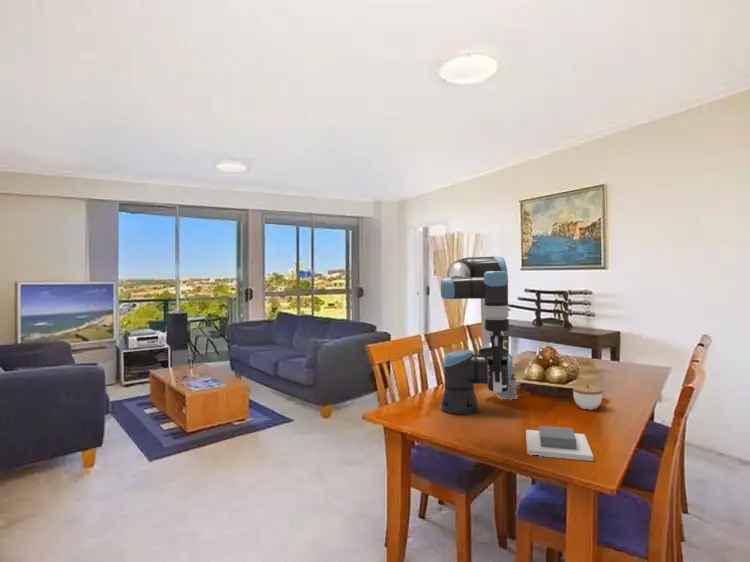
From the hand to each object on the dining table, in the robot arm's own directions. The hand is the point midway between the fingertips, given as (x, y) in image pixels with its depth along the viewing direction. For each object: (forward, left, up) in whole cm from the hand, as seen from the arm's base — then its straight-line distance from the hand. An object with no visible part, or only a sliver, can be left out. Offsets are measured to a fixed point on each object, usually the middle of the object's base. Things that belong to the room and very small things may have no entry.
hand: (498, 388), depth 146 cm
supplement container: (0, 0, -1) cm, 1 cm away
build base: (+17, -1, -17) cm, 24 cm away
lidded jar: (+32, +44, -17) cm, 57 cm away
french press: (0, +53, -17) cm, 56 cm away
